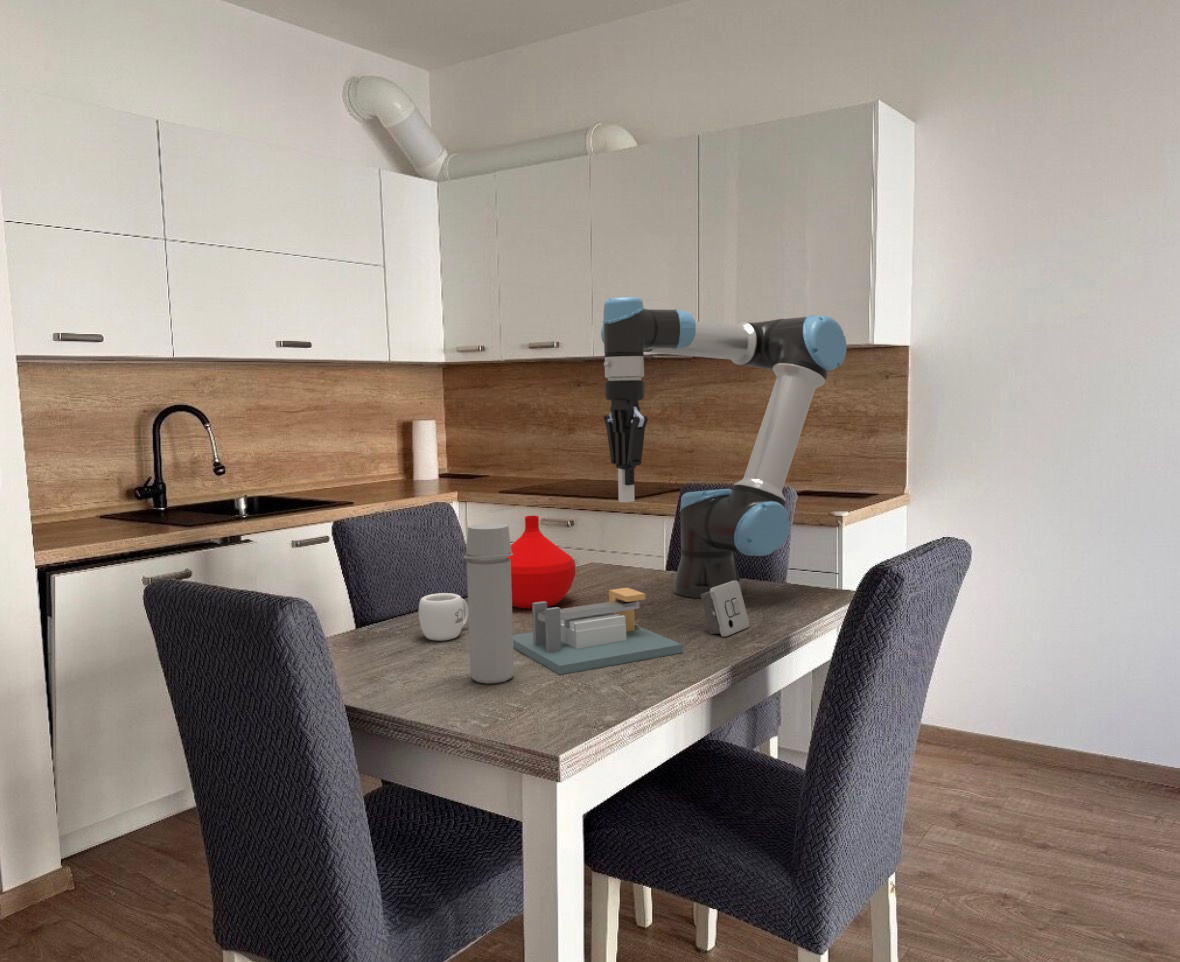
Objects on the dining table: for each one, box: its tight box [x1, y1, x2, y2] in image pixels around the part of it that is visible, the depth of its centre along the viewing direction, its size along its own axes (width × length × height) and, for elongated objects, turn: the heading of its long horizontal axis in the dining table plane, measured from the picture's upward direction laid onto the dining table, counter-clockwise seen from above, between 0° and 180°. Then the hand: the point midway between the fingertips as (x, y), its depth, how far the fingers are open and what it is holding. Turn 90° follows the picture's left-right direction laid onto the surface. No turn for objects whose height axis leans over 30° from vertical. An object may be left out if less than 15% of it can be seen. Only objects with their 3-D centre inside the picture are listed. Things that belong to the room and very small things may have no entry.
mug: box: [418, 592, 469, 642], centre depth 184 cm, size 12×8×8 cm
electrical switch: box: [700, 581, 750, 638], centre depth 183 cm, size 9×5×9 cm, turn 141°
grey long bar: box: [537, 600, 640, 622], centre depth 172 cm, size 19×3×1 cm, turn 118°
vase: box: [507, 515, 576, 610], centre depth 208 cm, size 18×18×19 cm
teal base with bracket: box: [513, 601, 683, 675], centre depth 172 cm, size 24×22×9 cm
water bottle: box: [463, 522, 515, 684], centre depth 156 cm, size 9×8×25 cm
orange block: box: [608, 587, 646, 631], centre depth 177 cm, size 4×6×8 cm, turn 28°
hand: (626, 501), depth 186 cm, fingers closed
